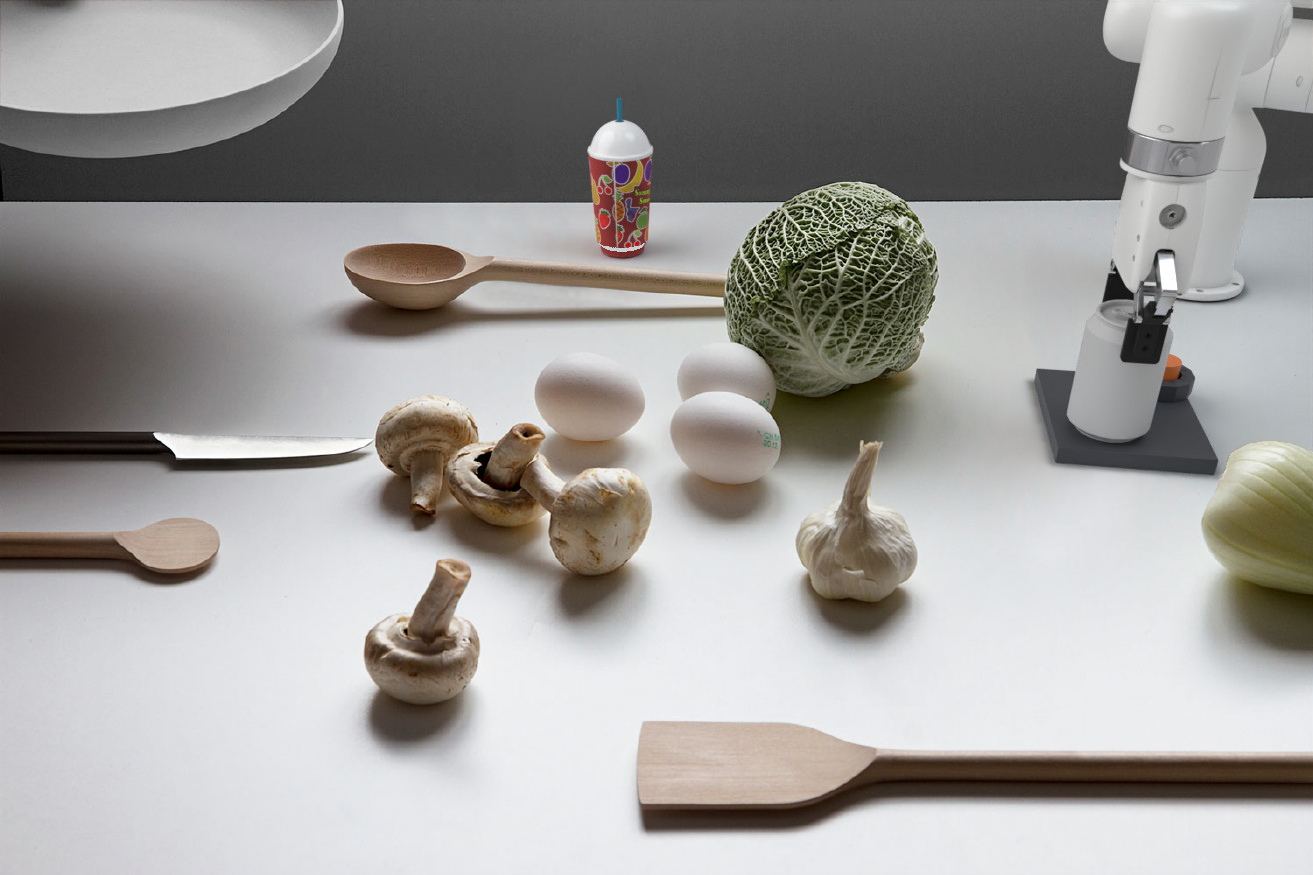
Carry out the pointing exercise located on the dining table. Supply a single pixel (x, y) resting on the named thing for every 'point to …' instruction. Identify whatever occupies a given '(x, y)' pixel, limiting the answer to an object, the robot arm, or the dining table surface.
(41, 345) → the dining table surface
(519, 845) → the dining table surface
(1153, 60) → the robot arm
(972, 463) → the dining table surface
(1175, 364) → the tare button
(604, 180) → the smoothie
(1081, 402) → the can
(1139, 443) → the grey flat slab
